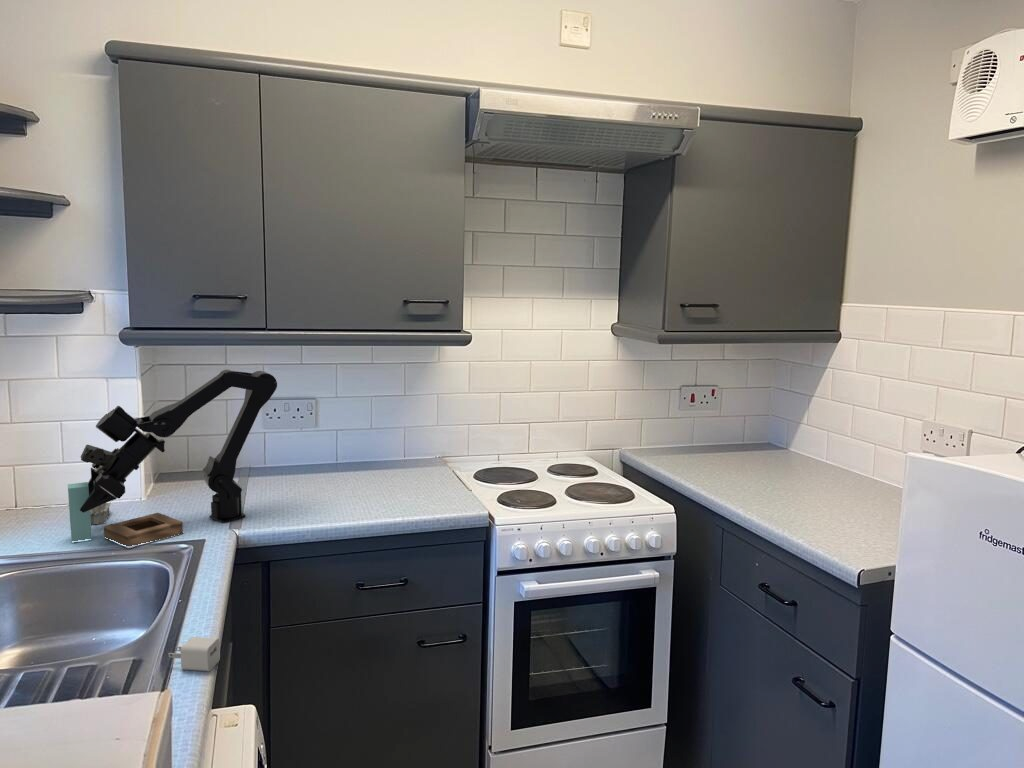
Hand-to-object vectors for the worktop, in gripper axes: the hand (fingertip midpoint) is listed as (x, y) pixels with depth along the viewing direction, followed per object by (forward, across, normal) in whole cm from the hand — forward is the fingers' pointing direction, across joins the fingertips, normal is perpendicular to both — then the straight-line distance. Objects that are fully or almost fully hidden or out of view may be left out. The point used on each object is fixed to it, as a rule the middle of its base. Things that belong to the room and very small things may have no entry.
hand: (80, 505), depth 169 cm
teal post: (+6, 0, +6) cm, 8 cm away
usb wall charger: (-3, +72, +15) cm, 73 cm away
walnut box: (-3, +5, +14) cm, 15 cm away
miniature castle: (+4, -15, +8) cm, 18 cm away
